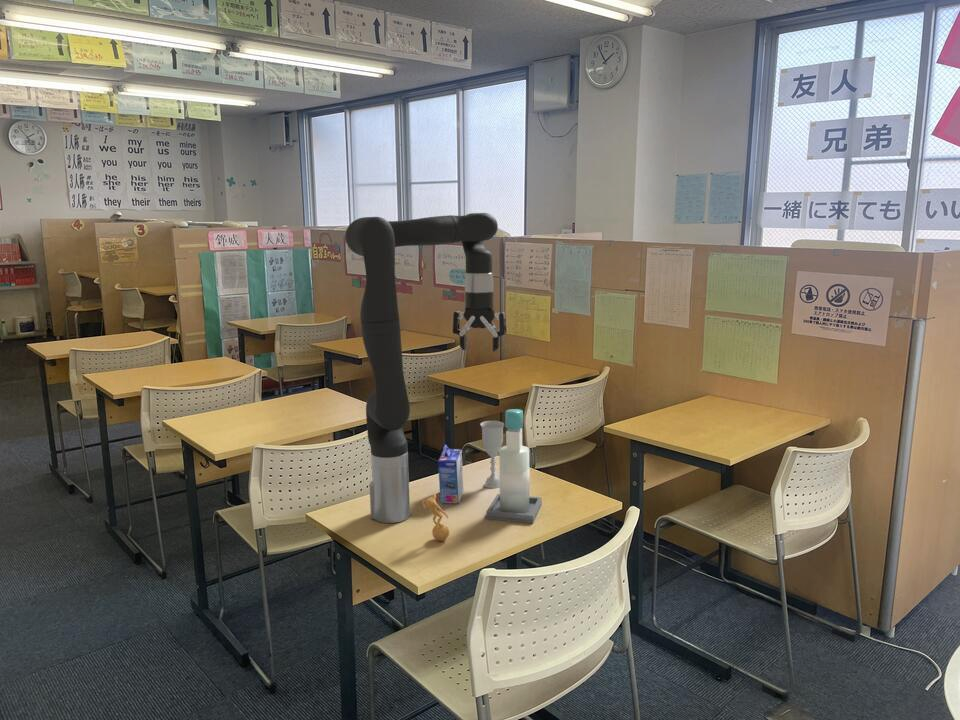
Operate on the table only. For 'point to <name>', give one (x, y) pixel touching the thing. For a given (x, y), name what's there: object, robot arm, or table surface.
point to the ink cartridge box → (450, 475)
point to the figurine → (439, 530)
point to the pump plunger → (514, 419)
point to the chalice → (492, 447)
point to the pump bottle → (514, 484)
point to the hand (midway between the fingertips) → (479, 350)
